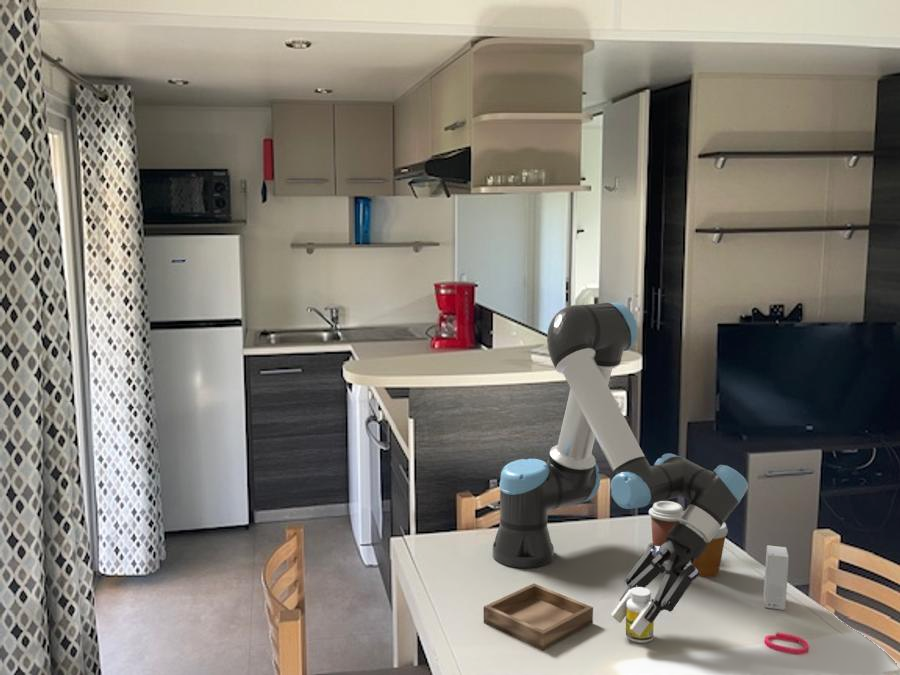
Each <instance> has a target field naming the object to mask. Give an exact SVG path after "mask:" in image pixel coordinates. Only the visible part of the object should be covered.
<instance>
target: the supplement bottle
mask: <svg viewBox="0 0 900 675" xmlns="http://www.w3.org/2000/svg"><path fill="white" fill-rule="evenodd" d="M651 595H652V592H651V590H650V589H648V588H646V587H645V588H643V587H637V586H636V587H634V588H632V589H631V590H630V599H629V600H628V601H627V606H626V616H625V636H626V638H627V639H628V640H630V641H632V642H634V643H637V644H638V643H639V644H646V643H649V642H651V641H652V640H653V638H654V625H655V624H654V621H655V620H654V621H653V622H652V623H649V624H648V626H647V627H646V628H645V630H644V631H643V632H642V634H641V635H640V637H639V636H638V635H637V634H636V633H634V632H633V631H632V630H631V629H630V626H631V625H632V624H633V622H634V621H635V620H636V618H637V617H638V616H639V614H640V613H641V611H642V610H643V609H644V607H645V606H646V605H647V603H648V602H649V601H650V602H652V601H651V599H652V598H651V597H652V596H651ZM652 603H653V602H652ZM653 604H654V603H653Z"/></svg>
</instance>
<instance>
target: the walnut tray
mask: <svg viewBox="0 0 900 675" xmlns="http://www.w3.org/2000/svg"><path fill="white" fill-rule="evenodd" d="M593 621H594V607H593V606H590V605H588V604H586V603H583V602H581V601H579V600H575V599H573V598H571V597H568V596H566V595H563V594H561V593H559V592H556V591H554V590H551V589H549V588H547V587H543V586H541V585H539V584H536V583H532V584H529V585H527V586H525V587H523V588H521V589H519V590H516V591H514V592H512V593H510V594H508V595H505V596H503V597H502V598H498V599H497V600H495V601H492V602H490V603H489V604H486V605H483V623H484V624H485V625H488V626H490V627H492V628H494V629H497V630H499V631H501V632H502V633H504V634H507V635H510V636H511V637H513V638H516V639H518V640H520V641H522V642H525V643H526V644H529V645H531V646H533V647H534V648H536V649H538V650H541V651H545V650H547V649H549V648H551V647H553V646H554V645H556V644H558V643H559V642H562V641H563V640H565V639H567V638H569V637H570V636H573V635H574V634H576V633H578V632H579V631H582V630H584V629H586V627H589V626H591V625H592V624H593V623H594V622H593Z"/></svg>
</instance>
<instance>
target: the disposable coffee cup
mask: <svg viewBox="0 0 900 675" xmlns="http://www.w3.org/2000/svg"><path fill="white" fill-rule="evenodd" d="M728 533H729V529H728V527H727V524H726V522H724V523H723V525H722V526H721V527H720V529H719V530H718V532H717V533H716V534H715V536H714V537H713V539H712V540H711V541H710V542H706V544H707V547H706V549H705V550H704V551H703V553H702V554H701V556H700V557H699V558H698V559H694V562H693V566H694V567H695V568H696V569H697V570H698V571H699V572H700V575H699V576H700V577H705V578H711V577H716V576H719V573H720V568H721V562H722V557H723V551H724V546H725V540H726V536H727V535H728ZM699 576H698V577H699Z"/></svg>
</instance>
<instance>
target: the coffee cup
mask: <svg viewBox="0 0 900 675" xmlns="http://www.w3.org/2000/svg"><path fill="white" fill-rule="evenodd" d="M684 511H685V510H684V509H683V506H682V505H681V504H680V503H678V502H675V501H669V500H665V501H660V502H656V503H653V504H652V507H651V508H649V510H648V515H649V517H651V538H652V540H651V542H652V543H653V544H654V545H655V546H661V545H662V544H664V543H665V542H666V541H667V534H668V533H669V531H670V530H671V529H672V527H673V526H674V525H675V523H679V520H678V519H679V518H680V516H681V515H682V514H683V512H684Z"/></svg>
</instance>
